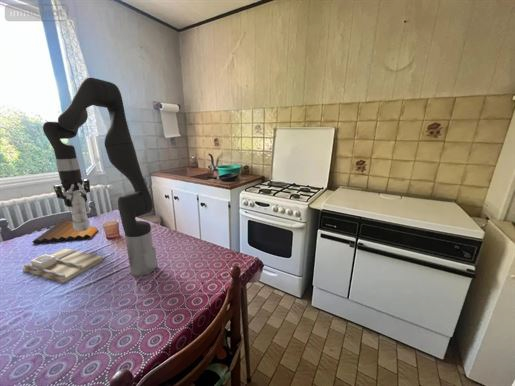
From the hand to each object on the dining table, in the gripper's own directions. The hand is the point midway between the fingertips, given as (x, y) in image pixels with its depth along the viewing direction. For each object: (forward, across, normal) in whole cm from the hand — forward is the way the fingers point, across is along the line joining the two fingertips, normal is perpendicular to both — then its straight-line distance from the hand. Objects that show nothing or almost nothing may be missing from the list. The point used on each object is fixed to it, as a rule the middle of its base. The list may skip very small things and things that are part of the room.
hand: (76, 204), depth 102 cm
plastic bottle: (+13, 0, 0) cm, 13 cm away
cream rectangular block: (+21, +18, +1) cm, 27 cm away
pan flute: (+23, -11, -23) cm, 34 cm away
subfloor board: (+22, +14, +6) cm, 27 cm away
